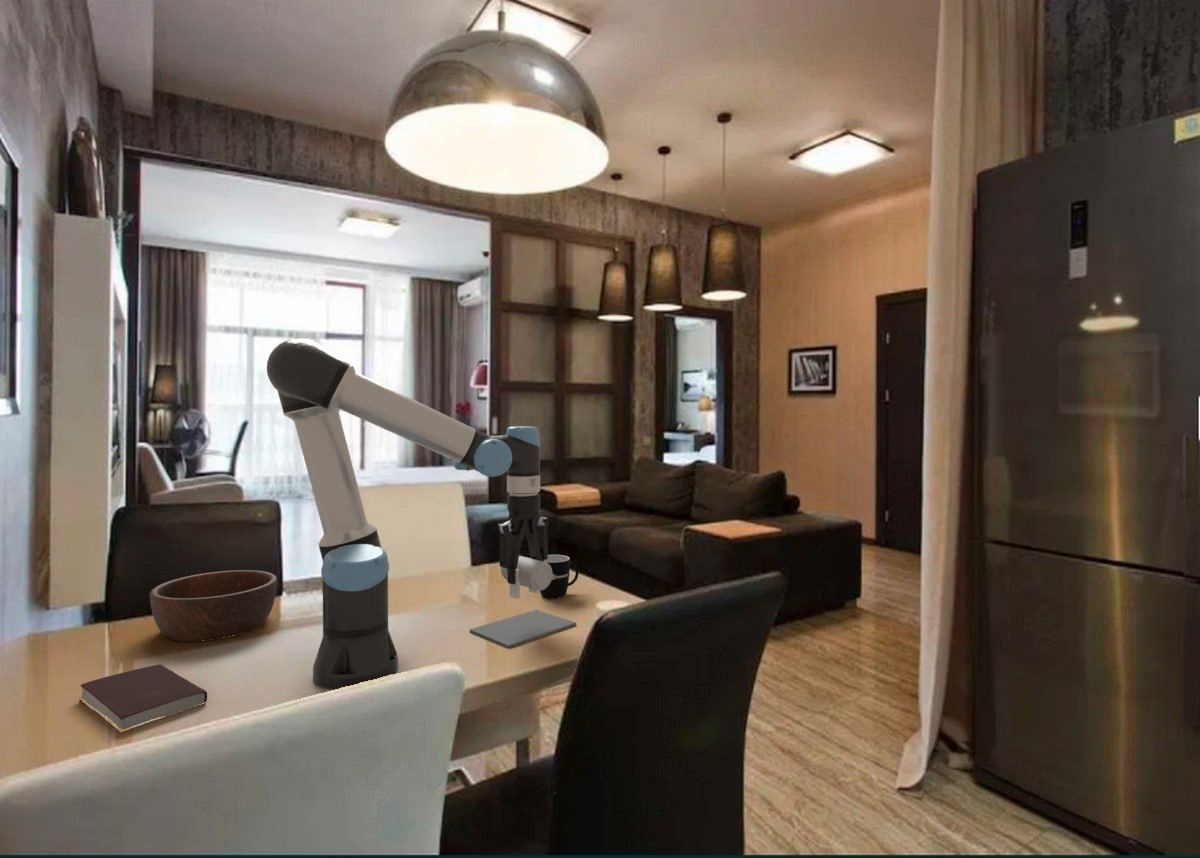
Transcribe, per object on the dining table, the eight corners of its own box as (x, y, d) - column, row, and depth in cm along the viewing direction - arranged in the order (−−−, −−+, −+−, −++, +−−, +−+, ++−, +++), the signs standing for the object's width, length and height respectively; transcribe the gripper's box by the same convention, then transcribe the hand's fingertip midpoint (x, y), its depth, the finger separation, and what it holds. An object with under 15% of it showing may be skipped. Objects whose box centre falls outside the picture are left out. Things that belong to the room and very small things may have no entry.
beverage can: (528, 582, 138) (494, 572, 147) (545, 596, 142) (511, 586, 150) (542, 557, 141) (508, 548, 149) (559, 571, 145) (525, 562, 153)
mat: (508, 648, 134) (508, 645, 134) (469, 632, 144) (469, 629, 144) (575, 625, 149) (575, 622, 149) (536, 611, 158) (536, 609, 158)
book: (162, 678, 120) (161, 661, 120) (208, 706, 108) (207, 687, 108) (79, 702, 110) (78, 684, 110) (120, 736, 98) (119, 716, 98)
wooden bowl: (207, 654, 130) (207, 604, 130) (122, 639, 138) (121, 592, 138) (301, 616, 154) (301, 574, 154) (223, 606, 162) (223, 566, 162)
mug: (544, 602, 167) (544, 563, 166) (531, 593, 174) (531, 556, 174) (585, 595, 172) (585, 558, 172) (571, 587, 180) (571, 552, 180)
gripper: (502, 499, 136) (503, 607, 137) (563, 491, 149) (564, 589, 150) (481, 496, 141) (482, 599, 142) (542, 488, 154) (543, 583, 155)
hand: (524, 594), depth 146 cm, fingers closed on beverage can, 5 cm apart
